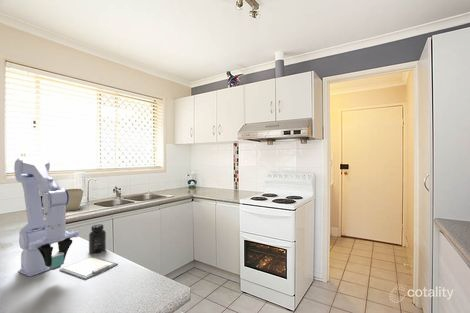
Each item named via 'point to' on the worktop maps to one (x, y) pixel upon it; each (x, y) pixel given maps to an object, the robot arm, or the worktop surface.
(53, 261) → the teal-topped white block
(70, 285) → the worktop surface
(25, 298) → the worktop surface
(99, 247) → the supplement bottle
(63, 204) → the robot arm
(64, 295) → the worktop surface
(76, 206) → the flower pot
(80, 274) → the clipboard
